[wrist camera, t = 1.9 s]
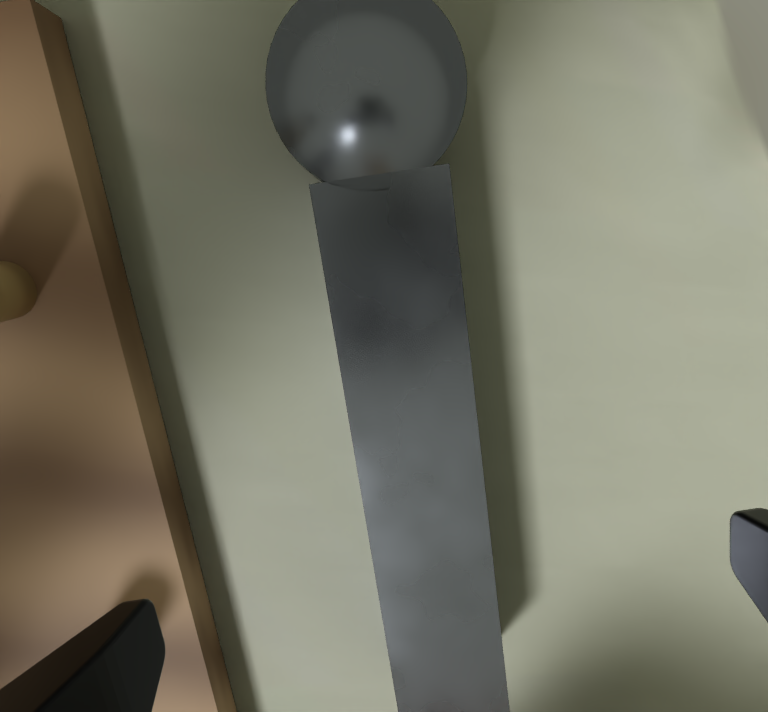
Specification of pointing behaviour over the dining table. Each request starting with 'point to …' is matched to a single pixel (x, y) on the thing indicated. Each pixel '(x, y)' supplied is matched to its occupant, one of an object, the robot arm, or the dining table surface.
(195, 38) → the dining table surface
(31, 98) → the tool rest
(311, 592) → the dining table surface
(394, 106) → the grey ball-topped bar
